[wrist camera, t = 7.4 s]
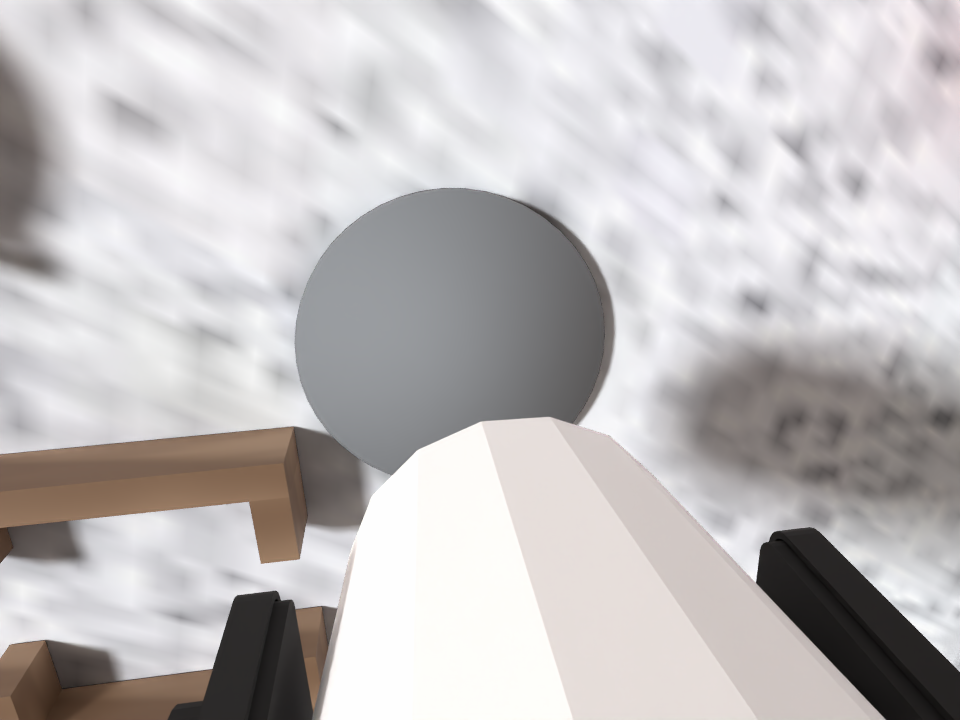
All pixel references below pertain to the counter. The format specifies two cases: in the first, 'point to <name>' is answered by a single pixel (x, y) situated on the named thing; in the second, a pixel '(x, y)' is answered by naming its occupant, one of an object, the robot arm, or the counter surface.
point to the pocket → (139, 489)
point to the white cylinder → (557, 597)
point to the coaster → (445, 323)
